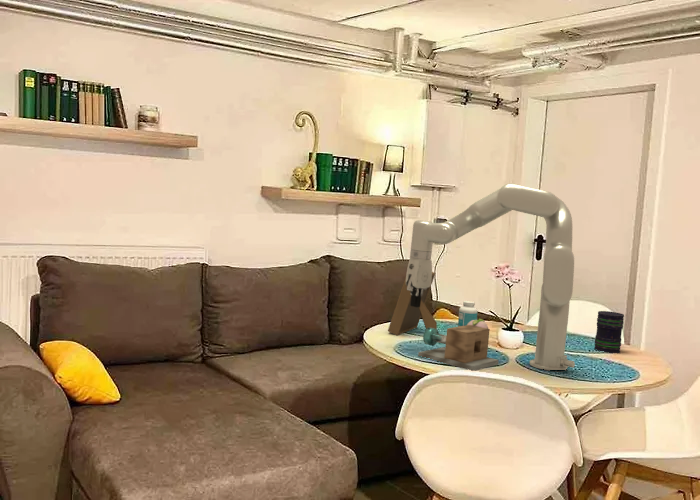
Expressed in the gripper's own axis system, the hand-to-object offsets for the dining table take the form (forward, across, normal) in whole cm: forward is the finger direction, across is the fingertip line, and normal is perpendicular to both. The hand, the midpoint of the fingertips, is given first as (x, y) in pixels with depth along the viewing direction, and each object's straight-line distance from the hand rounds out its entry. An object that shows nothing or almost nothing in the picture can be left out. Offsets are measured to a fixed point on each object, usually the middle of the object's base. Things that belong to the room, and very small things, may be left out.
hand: (415, 306), depth 251 cm
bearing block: (+15, 0, -19) cm, 24 cm away
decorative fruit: (+15, +33, -7) cm, 37 cm away
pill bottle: (+15, +44, +4) cm, 47 cm away
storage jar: (+14, +71, -44) cm, 85 cm away
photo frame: (+16, +26, +17) cm, 35 cm away
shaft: (+12, 0, -15) cm, 19 cm away
